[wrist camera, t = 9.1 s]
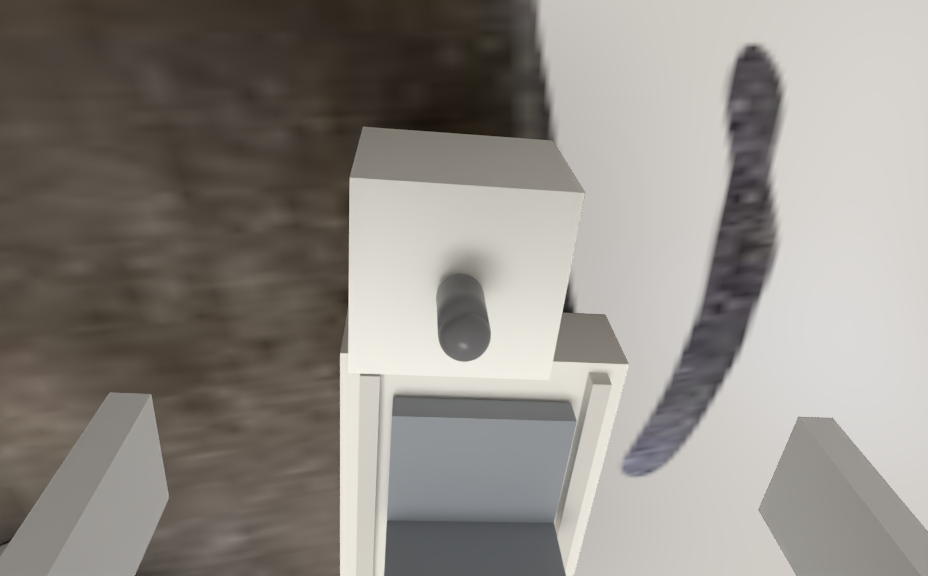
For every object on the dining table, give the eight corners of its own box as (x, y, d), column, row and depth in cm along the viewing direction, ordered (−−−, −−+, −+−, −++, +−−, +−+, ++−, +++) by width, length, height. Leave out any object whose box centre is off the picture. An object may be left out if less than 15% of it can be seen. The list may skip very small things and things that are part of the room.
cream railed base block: (349, 302, 30) (338, 364, 26) (605, 314, 31) (634, 376, 27) (347, 576, 39) (338, 655, 35) (544, 578, 40) (559, 654, 36)
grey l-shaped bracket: (392, 397, 27) (388, 480, 23) (570, 402, 28) (597, 484, 24) (387, 517, 31) (382, 609, 27) (545, 520, 32) (564, 609, 27)
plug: (370, 98, 25) (336, 225, 15) (534, 111, 26) (615, 242, 15) (366, 249, 29) (337, 443, 18) (513, 257, 29) (569, 449, 19)
